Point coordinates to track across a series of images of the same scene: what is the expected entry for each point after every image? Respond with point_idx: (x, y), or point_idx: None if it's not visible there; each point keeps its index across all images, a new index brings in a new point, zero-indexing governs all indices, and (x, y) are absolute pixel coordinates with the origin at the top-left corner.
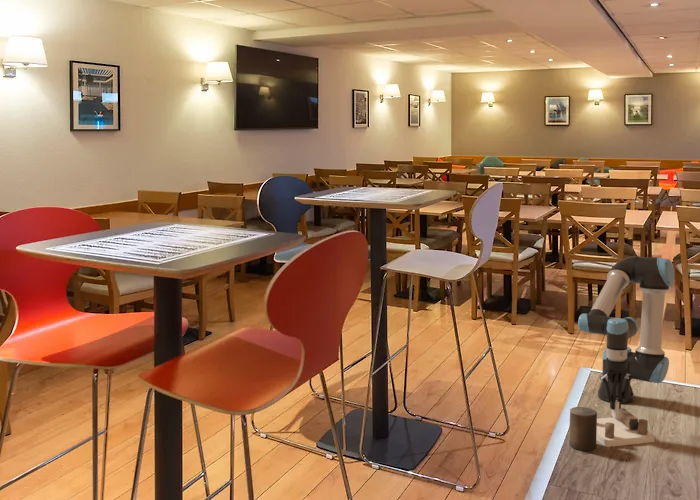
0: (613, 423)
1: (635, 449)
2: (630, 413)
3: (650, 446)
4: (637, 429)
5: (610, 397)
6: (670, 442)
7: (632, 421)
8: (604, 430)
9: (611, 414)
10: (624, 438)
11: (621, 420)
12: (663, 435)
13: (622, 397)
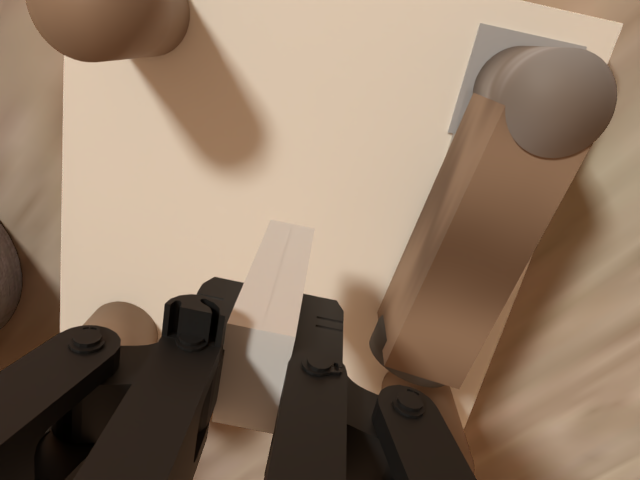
0: (361, 136)
1: (241, 435)
2: (530, 252)
3: None
4: None
5: (69, 470)
6: (533, 454)
7: (391, 371)
8: (166, 225)
9: (268, 225)
10: None
11: (447, 163)
12: (605, 369)
13: (356, 474)
